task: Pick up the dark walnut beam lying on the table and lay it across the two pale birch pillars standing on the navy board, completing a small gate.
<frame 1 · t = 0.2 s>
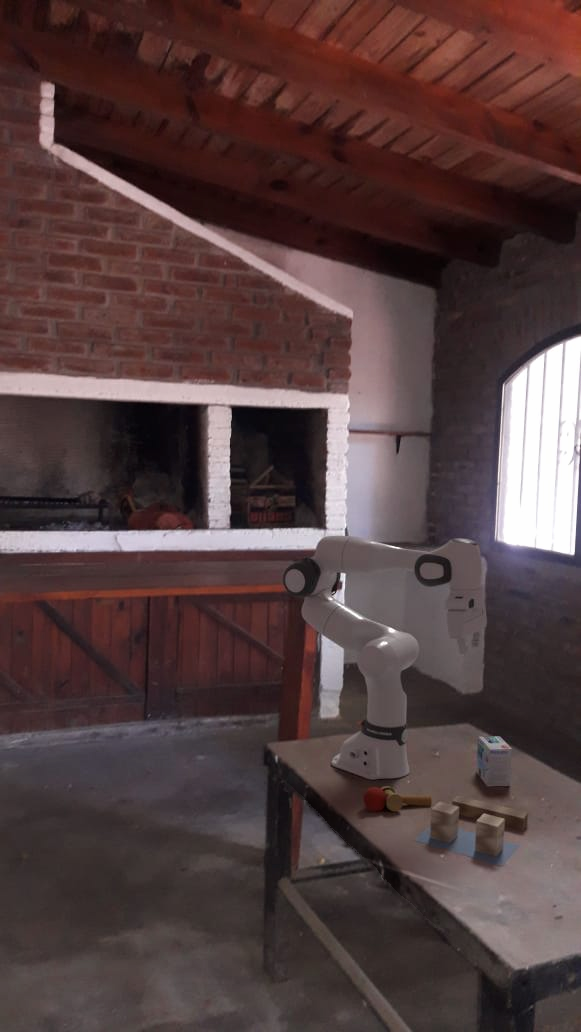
hand: (469, 650, 224), 39 cm above the table, tool pointing down, fingers open, 8 cm apart
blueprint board: (466, 845, 195), on the table
beam: (488, 822, 208), on the table
kendama: (396, 809, 214), on the table
light bulb box: (492, 780, 235), on the table
pillar left: (444, 836, 197), point 1 cm above the table, touching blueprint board
pillar right: (489, 849, 192), point 1 cm above the table, touching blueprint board
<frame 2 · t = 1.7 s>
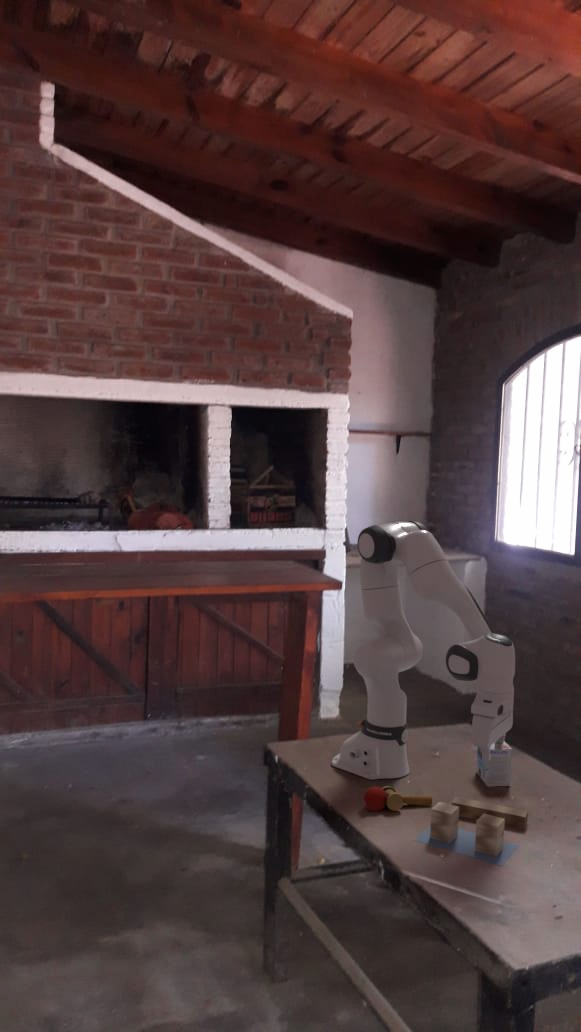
hand: (492, 755, 207), 17 cm above the table, tool pointing down, fingers open, 8 cm apart
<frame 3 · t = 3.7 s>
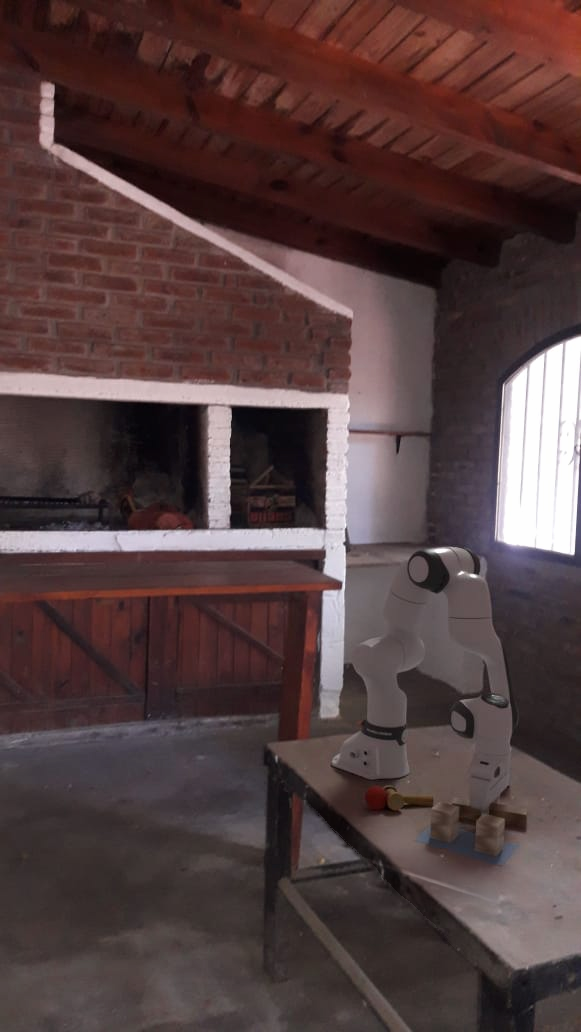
hand: (489, 814, 208), 2 cm above the table, tool pointing down, fingers closed on beam, 5 cm apart
beam: (488, 821, 208), on the table, touching gripper
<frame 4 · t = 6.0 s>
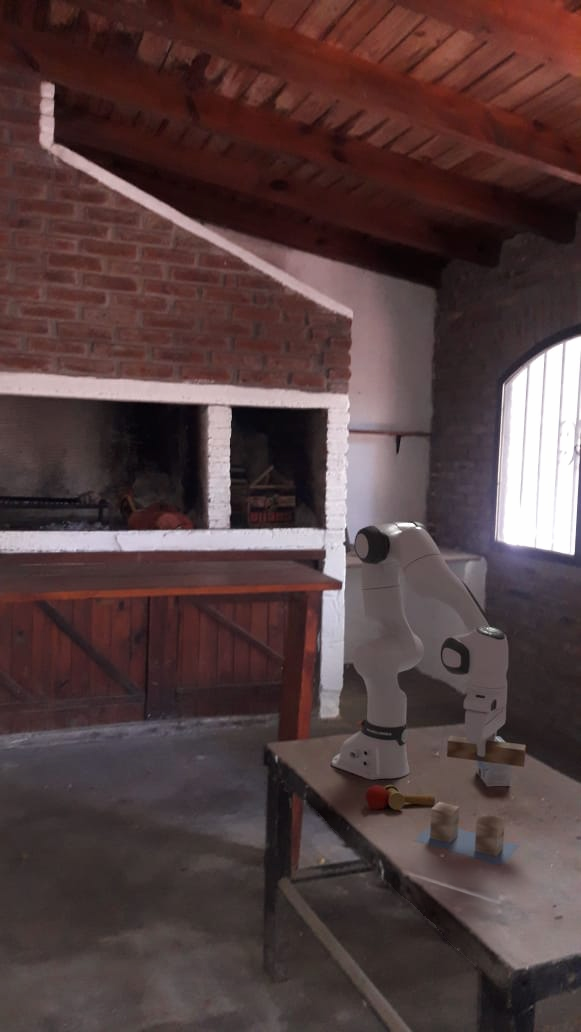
hand: (485, 751, 201), 20 cm above the table, tool pointing down, fingers closed on beam, 4 cm apart
beam: (485, 758, 201), point 18 cm above the table, touching gripper
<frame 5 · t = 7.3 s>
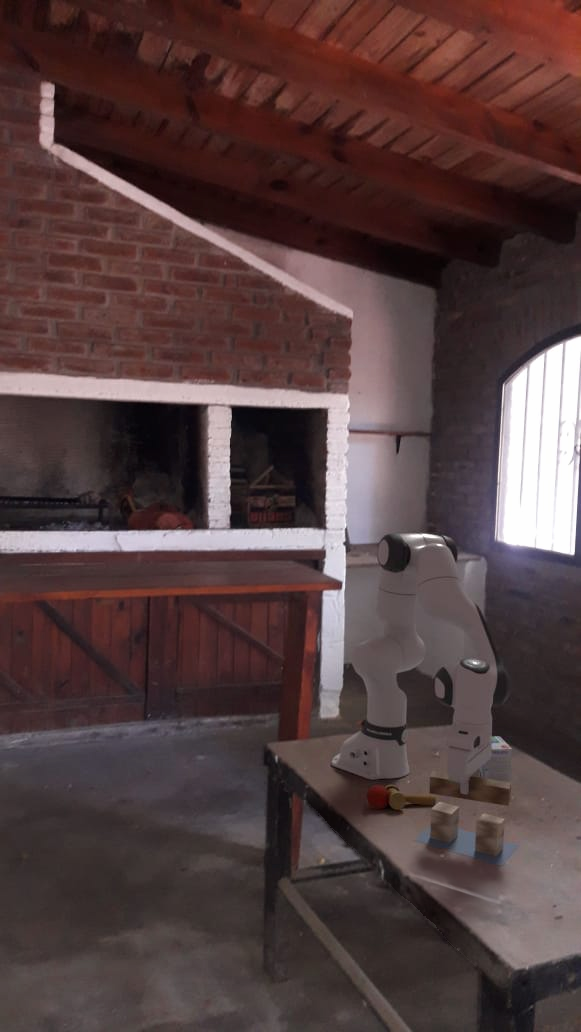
hand: (469, 788, 193), 14 cm above the table, tool pointing down, fingers closed on beam, 4 cm apart
beam: (469, 796, 194), point 12 cm above the table, touching gripper
when the fingers open (10 cm above the table, at t = 8.4 s): beam stays where it is, resting on pillar left, pillar right.
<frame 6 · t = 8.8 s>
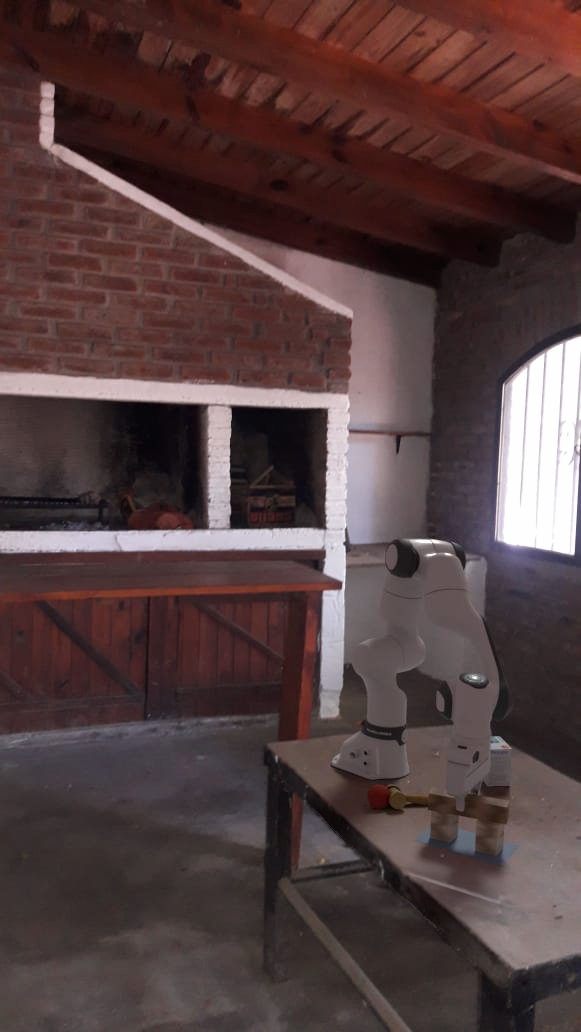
hand: (468, 802, 194), 10 cm above the table, tool pointing down, fingers open, 8 cm apart
beam: (467, 813, 194), point 8 cm above the table, touching pillar left, pillar right
pillar left: (444, 836, 197), point 1 cm above the table, touching beam, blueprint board
pillar right: (489, 849, 192), point 1 cm above the table, touching beam, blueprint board
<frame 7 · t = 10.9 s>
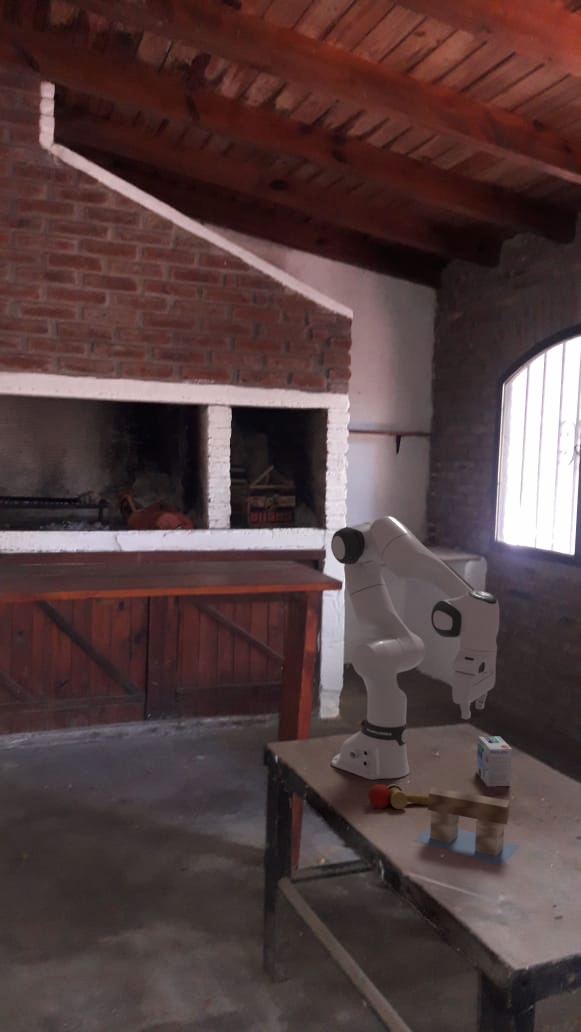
hand: (472, 713, 204), 28 cm above the table, tool pointing down, fingers open, 8 cm apart
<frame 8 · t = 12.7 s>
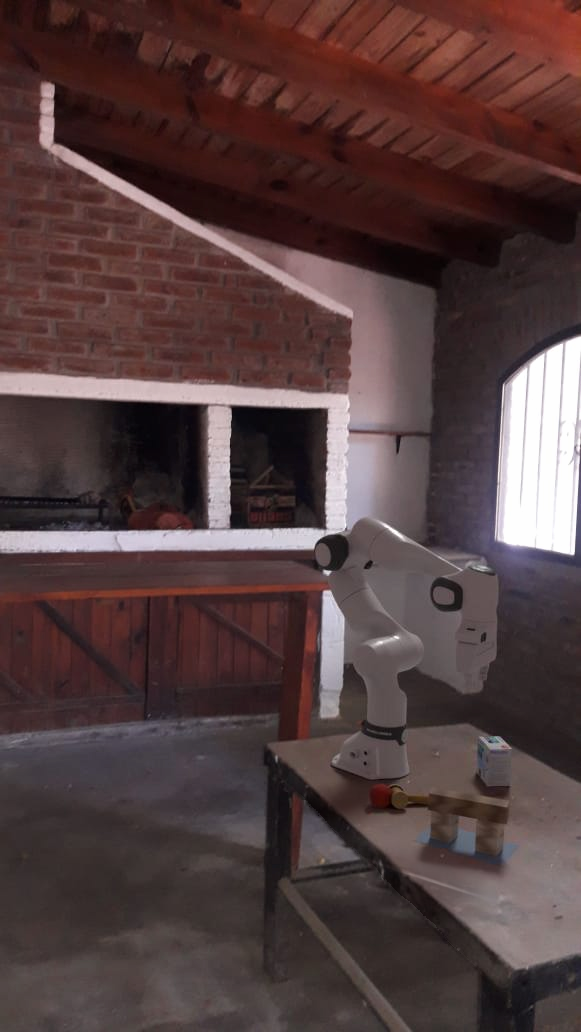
hand: (476, 683, 211), 33 cm above the table, tool pointing down, fingers open, 8 cm apart
at the end: beam 0.1 cm off-centre on the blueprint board, point 7.6 cm above the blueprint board's base; pillar left tilted 0°; pillar right tilted 0° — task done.
